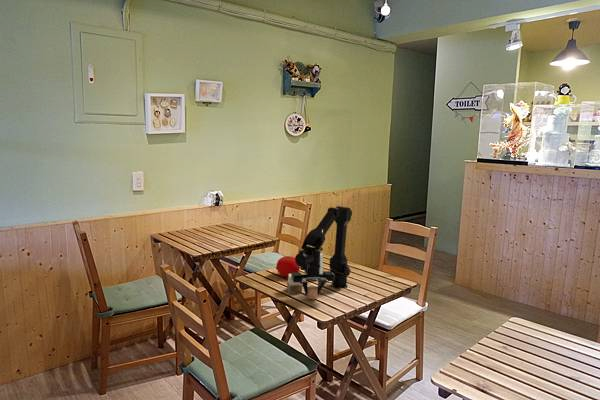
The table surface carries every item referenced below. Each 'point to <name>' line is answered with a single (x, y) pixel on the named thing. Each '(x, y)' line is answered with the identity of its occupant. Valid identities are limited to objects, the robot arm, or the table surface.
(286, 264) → the tomato
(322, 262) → the supplement box
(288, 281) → the cream block
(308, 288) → the brown rounded lump
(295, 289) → the walnut base block
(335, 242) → the robot arm
